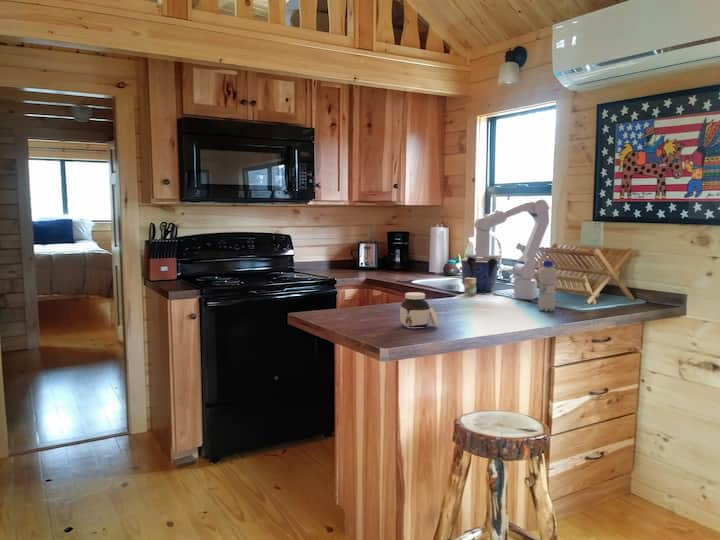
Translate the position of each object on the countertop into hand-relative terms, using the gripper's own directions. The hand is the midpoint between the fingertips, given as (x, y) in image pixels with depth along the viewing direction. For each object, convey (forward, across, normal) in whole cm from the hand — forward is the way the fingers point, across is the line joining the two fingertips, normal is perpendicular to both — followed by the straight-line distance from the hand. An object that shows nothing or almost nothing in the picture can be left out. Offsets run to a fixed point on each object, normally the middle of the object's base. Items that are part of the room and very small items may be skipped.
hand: (481, 275), depth 254 cm
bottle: (+11, +31, -12) cm, 35 cm away
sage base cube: (+10, -6, +3) cm, 12 cm away
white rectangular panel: (+10, -1, 0) cm, 10 cm away
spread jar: (+11, +1, -65) cm, 66 cm away
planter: (+11, -8, +20) cm, 24 cm away
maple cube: (+6, -6, +3) cm, 9 cm away
